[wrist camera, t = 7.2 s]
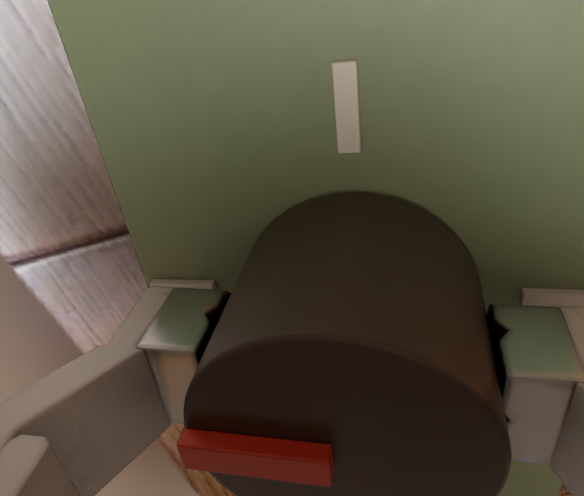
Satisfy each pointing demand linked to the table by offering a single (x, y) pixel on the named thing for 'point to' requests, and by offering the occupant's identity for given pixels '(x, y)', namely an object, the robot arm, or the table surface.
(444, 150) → the panel
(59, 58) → the table surface
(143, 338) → the robot arm
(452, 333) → the lock knob
